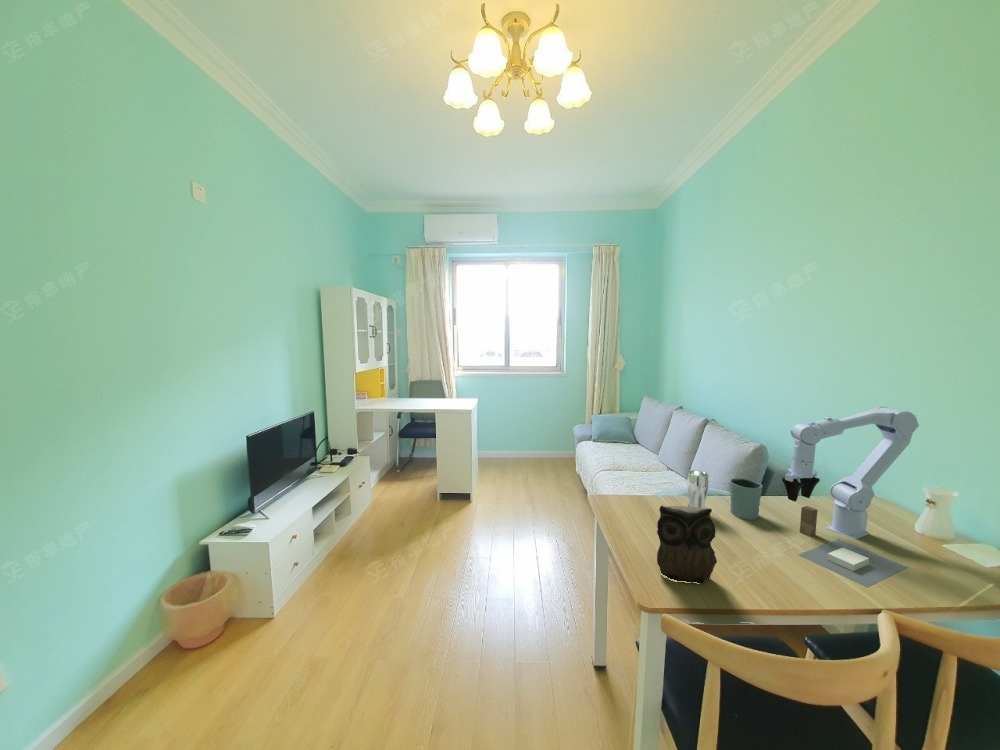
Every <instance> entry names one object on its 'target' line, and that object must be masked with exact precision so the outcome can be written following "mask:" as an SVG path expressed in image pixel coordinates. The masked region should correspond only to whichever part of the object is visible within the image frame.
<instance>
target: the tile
mask: <svg viewBox="0 0 1000 750" xmlns="http://www.w3.org/2000/svg"><path fill="white" fill-rule="evenodd" d="M827 560H828V561H831V562H833V563H835V564H837V565H839V566H842V567H844V568H846V569H848V570H850V571H853V572H854V571H856V570H858V569H860V568H863V567H865V566H867V565H868V563H869V558H867V557H865V556H862V555H860V554H857V553H855V552H853V551H850V550H848V549H845V548H840V549H838V550H835V551H833V552H830V553H828V556H827Z"/></svg>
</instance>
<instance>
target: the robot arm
mask: <svg viewBox="0 0 1000 750" xmlns="http://www.w3.org/2000/svg"><path fill="white" fill-rule="evenodd" d="M867 425H875V427H876V428H877V429H878V430H879V431H880V433H881V435H882V437H883V438H882V440H881V441H880V442H879V443H878V444H877V446H876V447H875V448H874V449H873V450H872V452H870V454H869V455H868V456H867V457H866V458H865V459H864V461H863V462H862V463H861V464H860V465H859V466H858V467H857V469H856V470H855V471H854V472H853V474H851V476H850V475H849V476H844V477H842V478H841V479H840V480H839V481H838V482H835V483H833V484H832V485H831V486H830V488H829V493H830V496H831V497H832V498H833V503H834V504H833V511H832V512H833V513H832V522H831V525H827V526H826V527H825V528H826V529H828V530H830V531H832V532H836V534H837V533H838V534H840V535H843V536H846V537H848V538H851V539H852V540H853V539H854V540H856V539H860V538H861V537H865V536H868V535H870V534H871V533H870V532H869V531H867V526H868V518H869V517H868V516H869V515H868V514H869V513H868V511H867V509H868V508H870V506H871V503H872V501H873V500H872V499H873V498H874V496H876V495H875V492H874V489H873V486H874V485H875V484H876V483H877V482H878V480H880V478H881V477H882V476H883V475H884V474H885V472H886V471H887V470H888V469H889V468H890V467H891V465H892V464H894V462H895V461H896V460H897V459H898V458H899V457H900V455H901V454H902V453H903V452H904V451H905V450H906V449H907V447H908V446H909V445H910V444H911V441H912V438H913V433H914V432H915V431H916V430H917V429H918V428H919V427H920V424H919V421H918V419H917V416H916V415H915V414H914V413H912V412H911V411H907V410H899V409H894V408H891V407H890V408H889V407H888V406H878V407H873V408H869V409H868V410H866V411H863V412H859V413H855V414H853V415H850V416H846V417H842V418H840V419H839V418H837V417H831V416H825V417H824V419H821V420H817V421H813V420H812V421H809V422H808V423H807V424H806V423H797V424H796V425H794V426H793V428H792V430H790V435H791V437H792V438H793V446H792V447H793V448H792V458H791V465H790V467H791V468H787V470H786V471H787V472H788V473H786V474H785V475H784V477H782V478H781V482H782V483H783V484H784V487H785V489H786V490H785V491H786V493H787V499H788V500H789V501H792V502H797V500H798V498H799V494H801V496H802V497H804V498H805V499H811V496H812V493H813V491H814V489H815V487H816V486H817V484H819V482H820V480H821V479H820V478H819V477H817V476H818V470H815V469H814V465H815V454H816V447H817V446H816V445H817V444H818V443H819V442H820V441H821V440H822V439H827V438H831V437H835V436H839V435H843V433H844V432H845V430H848V429H854V428H857V427H858V428H859V427H863V426H867Z"/></svg>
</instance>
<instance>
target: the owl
mask: <svg viewBox="0 0 1000 750" xmlns="http://www.w3.org/2000/svg"><path fill="white" fill-rule="evenodd" d="M712 510H713V509H712V508H710V507H709V508H707V507H705V508H698V507H691V506H688V505H687V506H685V505H669V506H664V505H662V504H661V505H660V507H659V513H660V516H659V518H658V520H657V527H656V529H657V531H656V534H657V536H658V539H659V547H658V549H657V554H656V562H657V565H658V567H659V572H660V571H661V573H662V574H663V575H665V576H667V577H668V578H670V579H674V580H677V581H686V582H697V583H702V584H704V583H705V582H706V581H705V580H707V579H709V578H710V579H711V576H712V574H713V571H714V569H715V566H716V565H717V563H718V561H717V557H716V551H715V550H714V549H713V547H712V541H713V540H714V539H715V537H716V527H715V526H716V525H715V522H714V521H713V519H712V517H711V513H712ZM704 581H705V582H704ZM707 581H708V580H707ZM703 582H704V583H703Z"/></svg>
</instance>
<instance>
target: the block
mask: <svg viewBox="0 0 1000 750" xmlns="http://www.w3.org/2000/svg"><path fill="white" fill-rule="evenodd" d="M817 519H818V509H817V508H814V507H811V506H809V505H806V506H801V512H800V522H799V523H800V524H799V533H801V534H803V535H805V536H808V537H813V536H816V532H817V531H816V530H817V522H818V520H817Z"/></svg>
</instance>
